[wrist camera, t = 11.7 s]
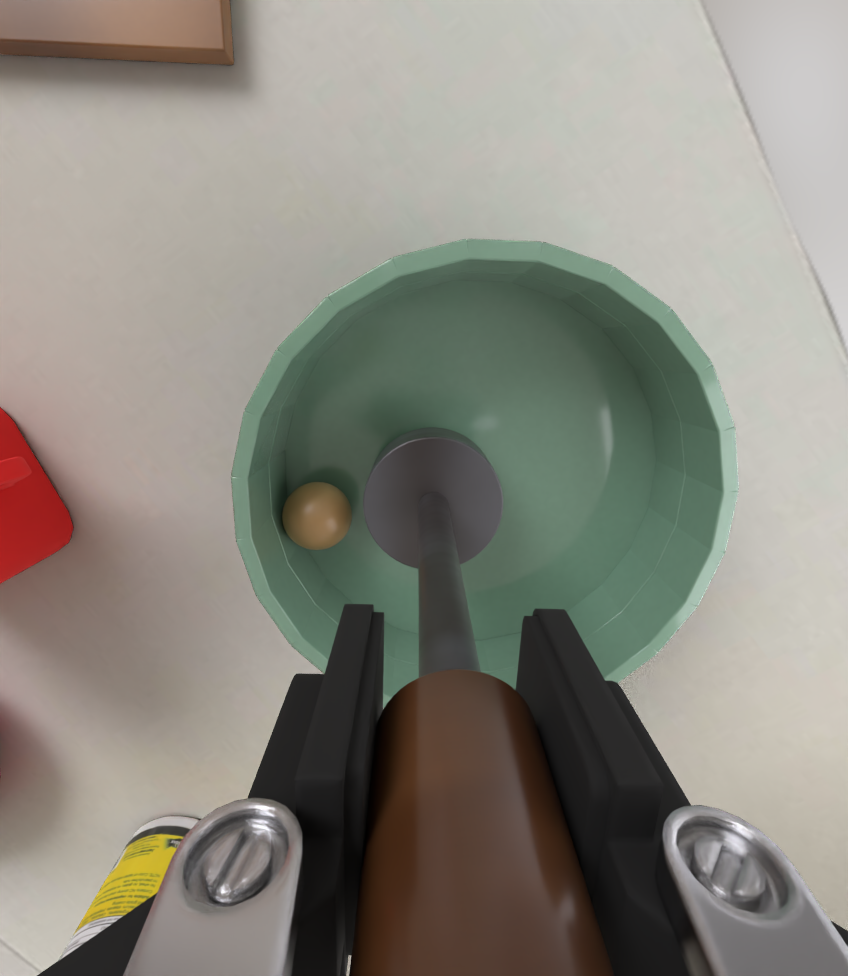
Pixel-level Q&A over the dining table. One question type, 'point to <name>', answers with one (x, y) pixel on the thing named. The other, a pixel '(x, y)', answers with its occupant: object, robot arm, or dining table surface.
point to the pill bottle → (133, 875)
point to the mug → (26, 506)
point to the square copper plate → (119, 29)
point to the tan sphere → (317, 515)
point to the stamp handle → (460, 762)
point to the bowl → (497, 451)
